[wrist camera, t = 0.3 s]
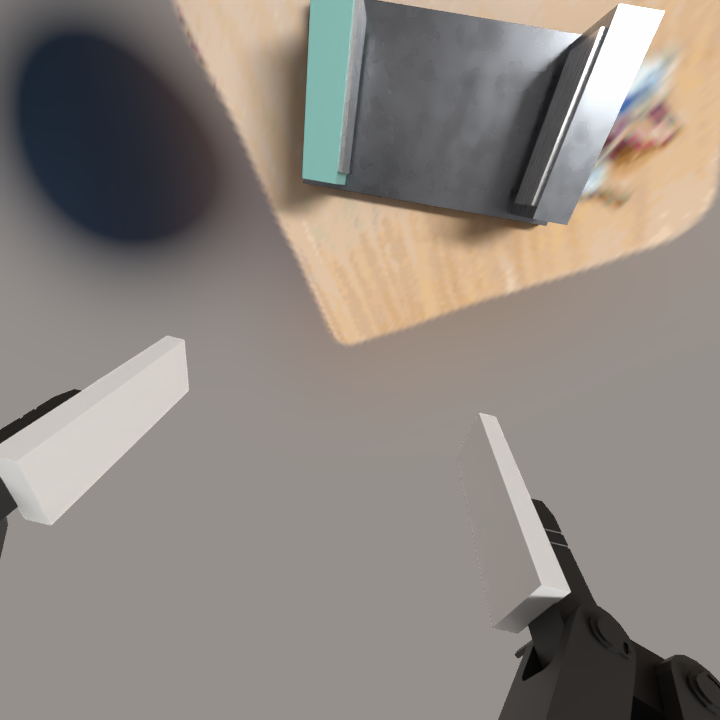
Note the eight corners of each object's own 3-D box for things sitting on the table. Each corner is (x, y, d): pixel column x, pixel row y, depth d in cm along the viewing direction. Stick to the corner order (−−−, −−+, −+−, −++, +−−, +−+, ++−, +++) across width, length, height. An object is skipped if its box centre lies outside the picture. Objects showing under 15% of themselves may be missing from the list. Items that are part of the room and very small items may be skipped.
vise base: (316, -1, 26) (291, -63, 20) (613, 49, 26) (685, 2, 20) (306, 183, 33) (285, 181, 27) (540, 224, 33) (575, 233, 27)
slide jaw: (329, -1, 25) (312, -47, 20) (369, 6, 25) (363, -39, 20) (316, 179, 32) (302, 178, 27) (348, 185, 32) (339, 184, 27)
